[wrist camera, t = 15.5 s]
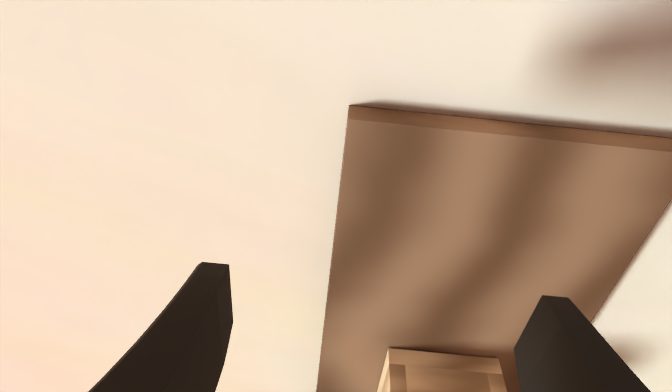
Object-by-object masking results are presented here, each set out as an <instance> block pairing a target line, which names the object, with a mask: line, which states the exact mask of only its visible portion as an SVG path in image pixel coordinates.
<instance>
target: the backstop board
mask: <svg viewBox="0 0 672 392" xmlns="http://www.w3.org/2000/svg"><path fill="white" fill-rule="evenodd" d="M671 199H672V138H664V137H654V136H644V135H634V134H625V133H615V132H605V131H595V130H585V129H576V128H566V127H556V126H546V125H536V124H527V123H517V122H507V121H497V120H487V119H478V118H468V117H458V116H448V115H438V114H429V113H419V112H409V111H399V110H389V109H380V108H370V107H360V106H350V105H349V110H348V119H347V128H346V137H345V145H344V154H343V163H342V172H341V180H340V189H339V198H338V207H337V215H336V224H335V233H334V242H333V250H332V259H331V268H330V276H329V285H328V294H327V303H326V311H325V320H324V329H323V338H322V346H321V355H320V364H319V373H318V381H317V390H316V392H377V390H378V386H379V382H380V378H381V374H382V371H383V367H384V363H385V359H386V355H387V351H388V348H392V349H403V350H413V351H424V352H434V353H445V354H455V355H466V356H477V357H487V358H498V359H499V362H500V366H501V370H502V374H503V378H504V382H505V386H506V389H507V392H521V390H520V384H519V379H518V373H517V367H516V360H515V353H514V347H515V345H516V343H517V341H518V339H519V338H520V336H521V334H522V332H523V330H524V328H525V326H526V324H527V322H528V321H529V319H530V317H531V315H532V313H533V311H534V309H535V307H536V306H537V304H538V302H539V300H540V298H541V296H542V295H547V296H558V297H568V298H569V299H570V300H571V301H572V302H573V303H574V304H575V305H576V307H577V308H578V309H579V310H580V311H581V312H582V313H583V315H584V316H585V317H586V318H587V319H588V320H589V322H591V320H592V319H593V317H594V315H595V314H596V312H597V311H598V309H599V308H600V306H601V305H602V303H603V302H604V300H605V299H606V297H607V296H608V294H609V293H610V291H611V290H612V288H613V287H614V285H615V284H616V282H617V281H618V279H619V278H620V276H621V275H622V273H623V272H624V270H625V268H626V267H627V265H628V264H629V262H630V261H631V259H632V258H633V256H634V255H635V253H636V252H637V250H638V249H639V247H640V246H641V244H642V243H643V241H644V240H645V238H646V237H647V235H648V234H649V232H650V231H651V229H652V228H653V226H654V225H655V223H656V221H657V220H658V218H659V217H660V215H661V214H662V212H663V211H664V209H665V208H666V206H667V205H668V203H669V202H670V200H671Z"/></svg>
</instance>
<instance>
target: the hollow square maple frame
mask: <svg viewBox="0 0 672 392" xmlns="http://www.w3.org/2000/svg"><path fill="white" fill-rule="evenodd" d="M377 392H507V389H506V386H505V382H504V378H503V374H502V370H501V366H500V362H499V359H498V358H487V357H477V356H466V355H455V354H445V353H434V352H424V351H413V350H403V349H392V348H388V351H387V355H386V359H385V363H384V367H383V371H382V374H381V378H380V382H379V386H378V390H377Z"/></svg>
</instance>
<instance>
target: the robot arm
mask: <svg viewBox="0 0 672 392" xmlns="http://www.w3.org/2000/svg"><path fill="white" fill-rule="evenodd" d="M232 324H233V314H232V300H231V286H230V272H229V265H228V264H217V263H207V262H202V263H200V264H199V265H198V266H197V267H196V268H195V270H194V271H193V273H192V274H191V275H190V277H189V278H188V279H187V281H186V282H185V283H184V285H183V286H182V287H181V289H180V290H179V291H178V292H177V294H176V295H175V296H174V298H173V299H172V300H171V301H170V303H169V304H168V305H167V306H166V308H165V309H164V310H163V311H162V312H161V314H160V315H159V316H158V317H157V318H156V319H155V321H154V322H153V323H152V324H151V325H150V326H149V328H148V329H147V330H146V331H145V332H144V333H143V335H142V336H141V337H140V338H139V339H138V340H137V341H136V343H135V344H134V345H133V346H132V347H131V348H130V349H129V350H128V351H127V352H126V353H125V354H124V355H123V357H122V358H121V359H120V360H119V361H118V362H117V363H116V364H115V365H114V366H113V367H112V368H111V369H110V370H109V371H108V372H107V374H106V375H105V376H104V377H103V378H102V379H101V380H100V381H99V382H98V383H97V384H96V385H95V386H94V387H93V388H92V389H91V390H90V391H89V392H215V390H216V387H217V384H218V381H219V378H220V375H221V372H222V369H223V366H224V362H225V357H226V353H227V348H228V344H229V339H230V334H231V329H232ZM514 353H515V360H516V367H517V373H518V379H519V384H520V390H521V392H651V391H650V390H649V389H648V388H647V387H646V386H645V385H644V384H643V383H642V381H641V380H640V379H639V378H638V377H637V376H636V375H635V374H634V373H633V371H632V370H631V369H630V368H629V367H628V366H627V365H626V363H625V362H624V361H623V360H622V359H621V358H620V357H619V355H618V354H617V353H616V352H615V351H614V350H613V348H612V347H611V346H610V345H609V344H608V343H607V342H606V340H605V339H604V338H603V337H602V336H601V335H600V333H599V332H598V331H597V330H596V329H595V327H594V326H593V325H592V324H591V323H590V322H589V320H588V319H587V318H586V317H585V316H584V315H583V313H582V312H581V311H580V310H579V309H578V308H577V307H576V305H575V304H574V303H573V302H572V301H571V300H570V299H569V298H568V297H558V296H547V295H542V296H541V298H540V300H539V302H538V304H537V306H536V307H535V309H534V311H533V313H532V315H531V317H530V319H529V321H528V322H527V324H526V326H525V328H524V330H523V332H522V334H521V336H520V338H519V339H518V341H517V343H516V345H515V347H514Z"/></svg>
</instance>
